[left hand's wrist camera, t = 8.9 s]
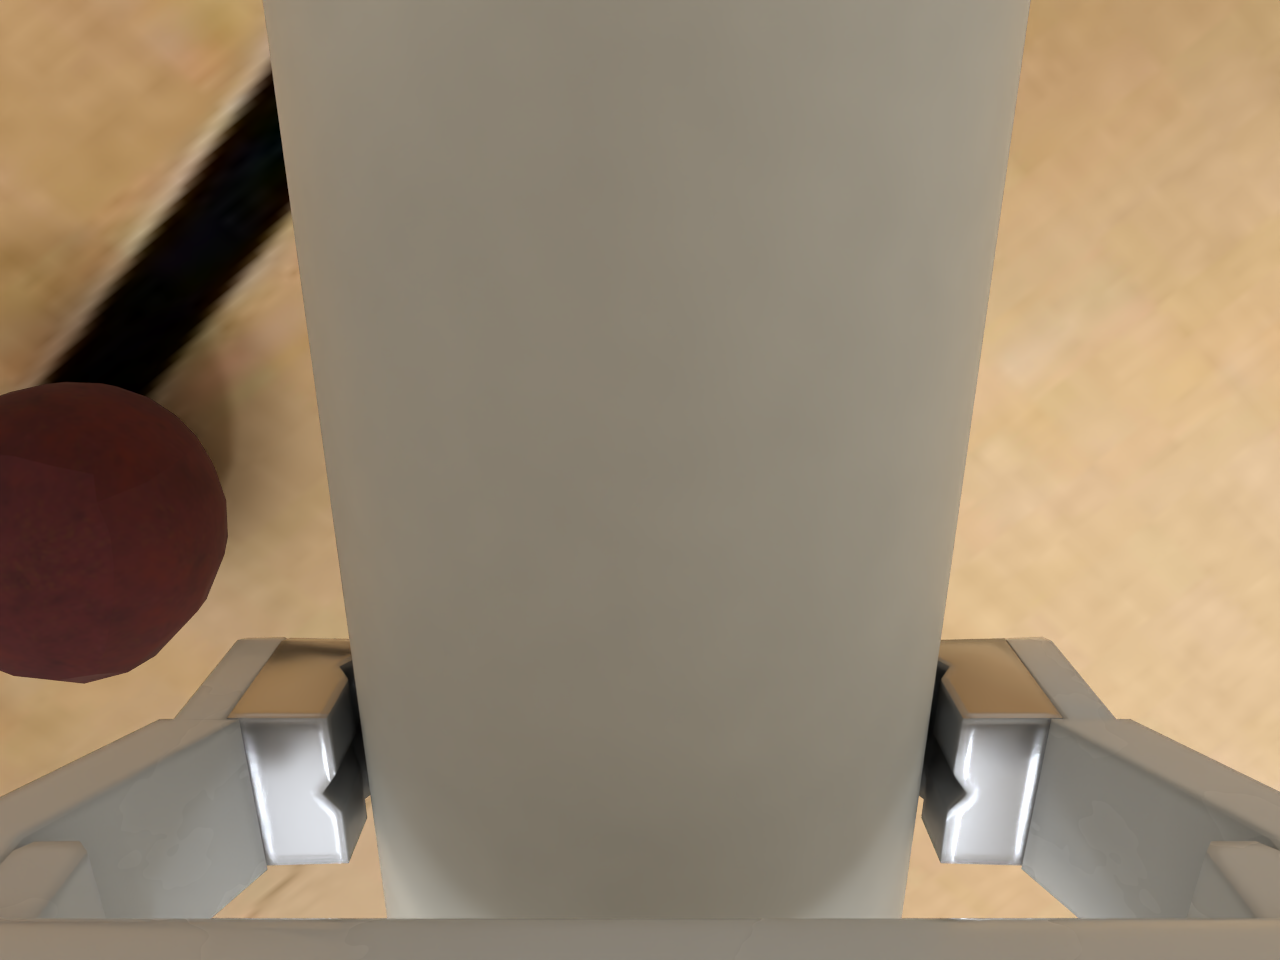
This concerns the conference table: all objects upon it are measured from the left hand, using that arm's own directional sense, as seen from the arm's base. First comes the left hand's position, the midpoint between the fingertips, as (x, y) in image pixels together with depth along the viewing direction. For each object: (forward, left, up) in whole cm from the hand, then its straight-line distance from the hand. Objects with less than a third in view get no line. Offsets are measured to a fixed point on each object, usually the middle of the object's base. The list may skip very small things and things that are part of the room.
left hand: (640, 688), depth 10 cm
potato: (-13, -7, -16) cm, 22 cm away
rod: (-2, +8, -3) cm, 9 cm away
